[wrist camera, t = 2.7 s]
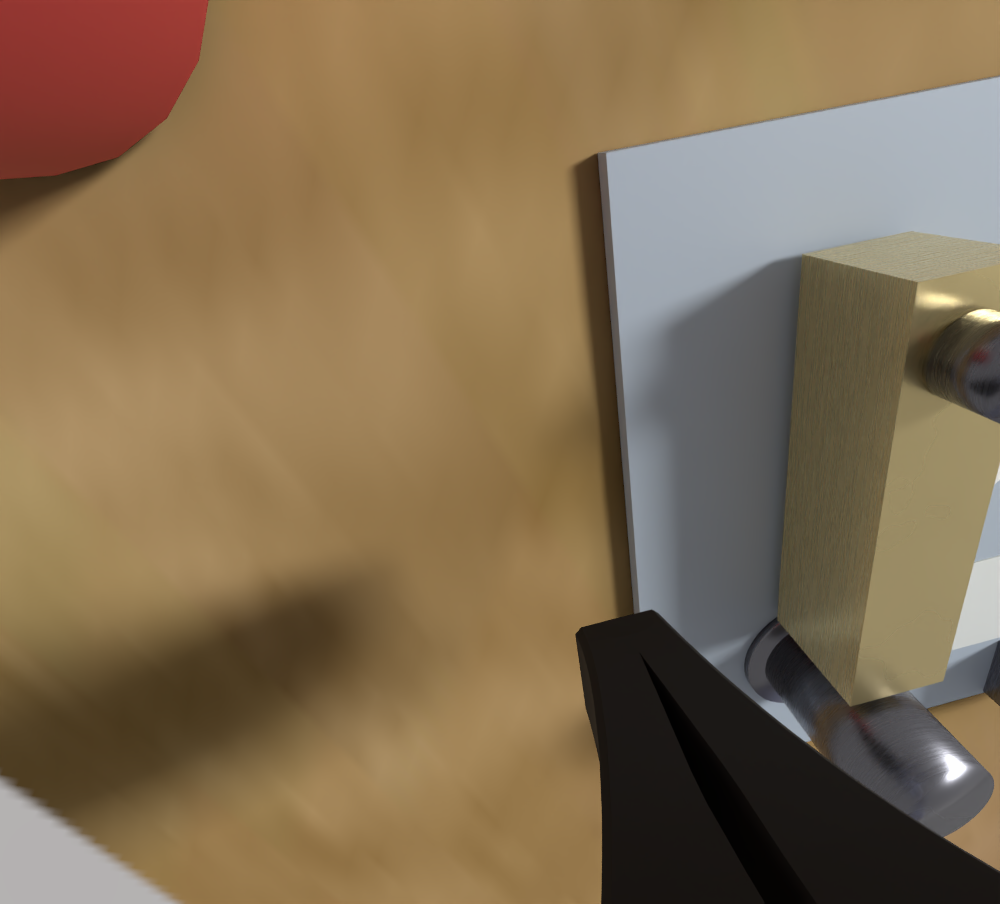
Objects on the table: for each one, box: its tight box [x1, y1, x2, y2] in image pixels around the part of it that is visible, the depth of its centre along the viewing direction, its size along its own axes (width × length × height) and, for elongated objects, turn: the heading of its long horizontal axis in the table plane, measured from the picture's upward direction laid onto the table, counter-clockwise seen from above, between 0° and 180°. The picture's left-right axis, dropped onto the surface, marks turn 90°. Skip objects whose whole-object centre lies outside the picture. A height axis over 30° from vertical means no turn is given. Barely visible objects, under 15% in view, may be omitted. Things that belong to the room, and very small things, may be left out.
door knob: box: [744, 617, 994, 837], centre depth 16 cm, size 4×4×5 cm
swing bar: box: [777, 231, 1000, 707], centre depth 13 cm, size 10×2×4 cm, turn 10°
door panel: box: [598, 76, 1000, 742], centre depth 16 cm, size 19×18×1 cm
